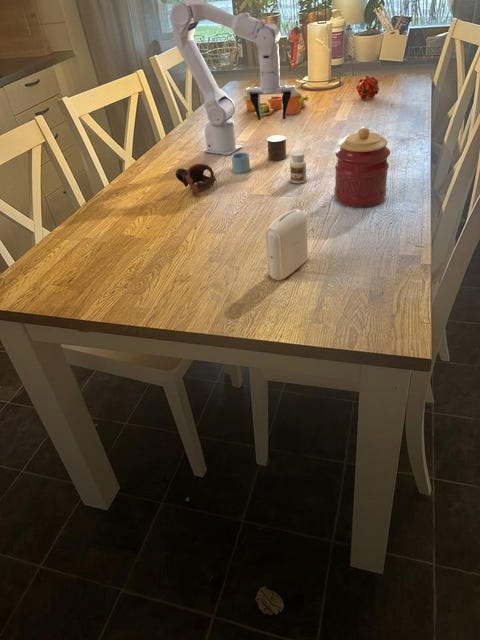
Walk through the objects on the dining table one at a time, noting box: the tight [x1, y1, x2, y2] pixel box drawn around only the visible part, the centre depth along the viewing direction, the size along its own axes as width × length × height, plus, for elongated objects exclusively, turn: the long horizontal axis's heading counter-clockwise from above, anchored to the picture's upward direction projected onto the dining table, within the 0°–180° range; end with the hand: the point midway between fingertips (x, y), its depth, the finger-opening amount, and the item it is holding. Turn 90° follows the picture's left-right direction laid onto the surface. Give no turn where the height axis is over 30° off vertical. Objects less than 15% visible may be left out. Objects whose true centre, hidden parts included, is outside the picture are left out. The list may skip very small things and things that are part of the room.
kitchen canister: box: [334, 126, 391, 208], centre depth 123 cm, size 13×13×18 cm
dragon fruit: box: [355, 75, 380, 100], centre depth 199 cm, size 8×8×12 cm
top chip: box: [267, 135, 287, 148], centre depth 153 cm, size 6×6×2 cm
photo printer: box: [265, 208, 309, 281], centre depth 100 cm, size 10×4×12 cm, turn 140°
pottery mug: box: [175, 163, 217, 197], centre depth 140 cm, size 12×10×8 cm
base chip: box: [267, 151, 287, 162], centre depth 156 cm, size 6×6×2 cm
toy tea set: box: [242, 89, 309, 117], centre depth 195 cm, size 26×16×10 cm, turn 81°
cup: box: [231, 152, 251, 174], centre depth 149 cm, size 5×5×4 cm
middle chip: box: [267, 144, 287, 154], centre depth 154 cm, size 6×6×2 cm
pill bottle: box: [289, 151, 307, 184], centre depth 138 cm, size 4×4×8 cm
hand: (271, 118), depth 154 cm, fingers open, 7 cm apart
